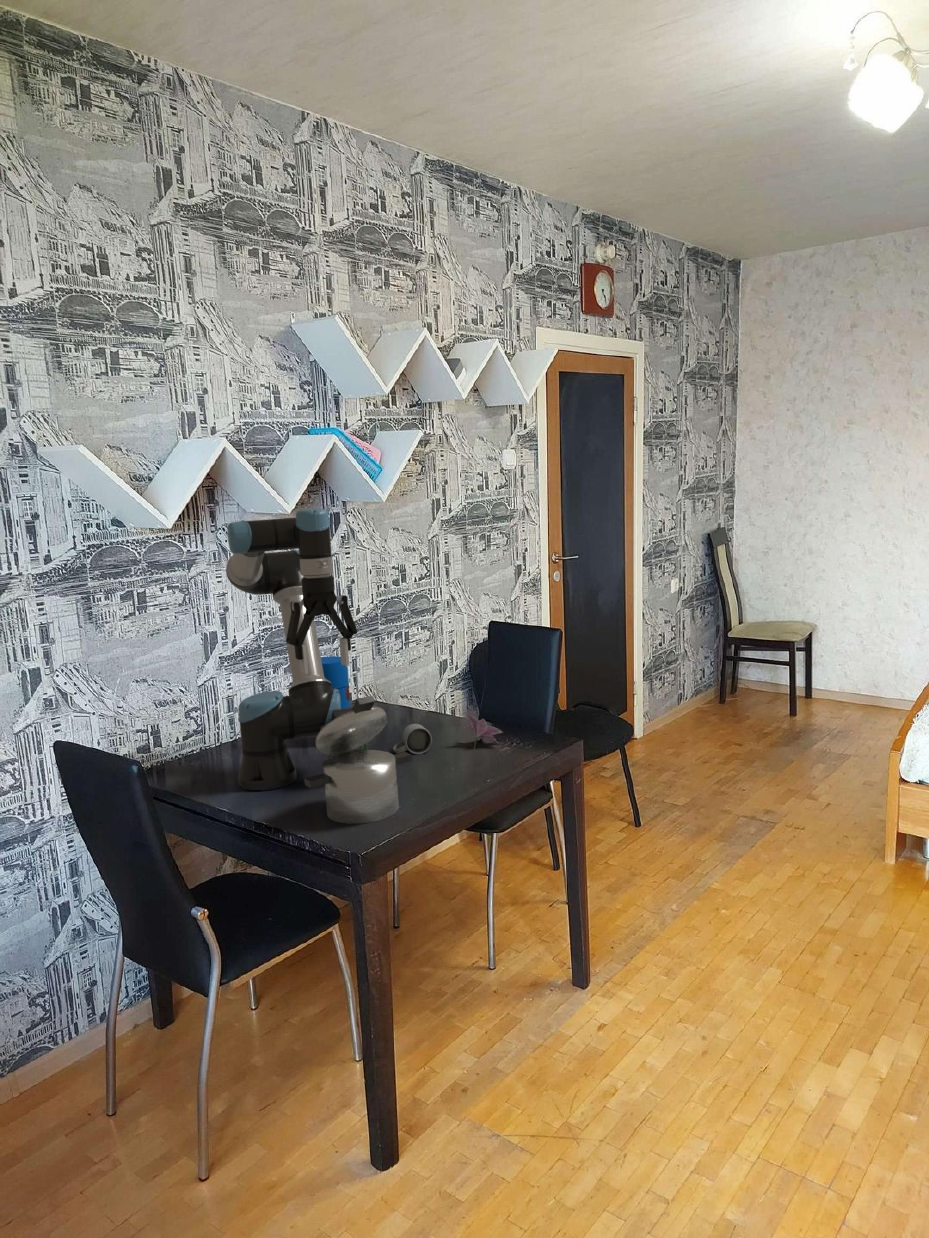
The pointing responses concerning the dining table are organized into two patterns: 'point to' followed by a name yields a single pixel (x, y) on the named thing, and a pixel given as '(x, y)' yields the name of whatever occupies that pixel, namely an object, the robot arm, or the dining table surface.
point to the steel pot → (360, 785)
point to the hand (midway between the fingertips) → (325, 668)
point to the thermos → (337, 678)
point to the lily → (482, 728)
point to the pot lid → (352, 728)
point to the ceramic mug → (414, 740)
